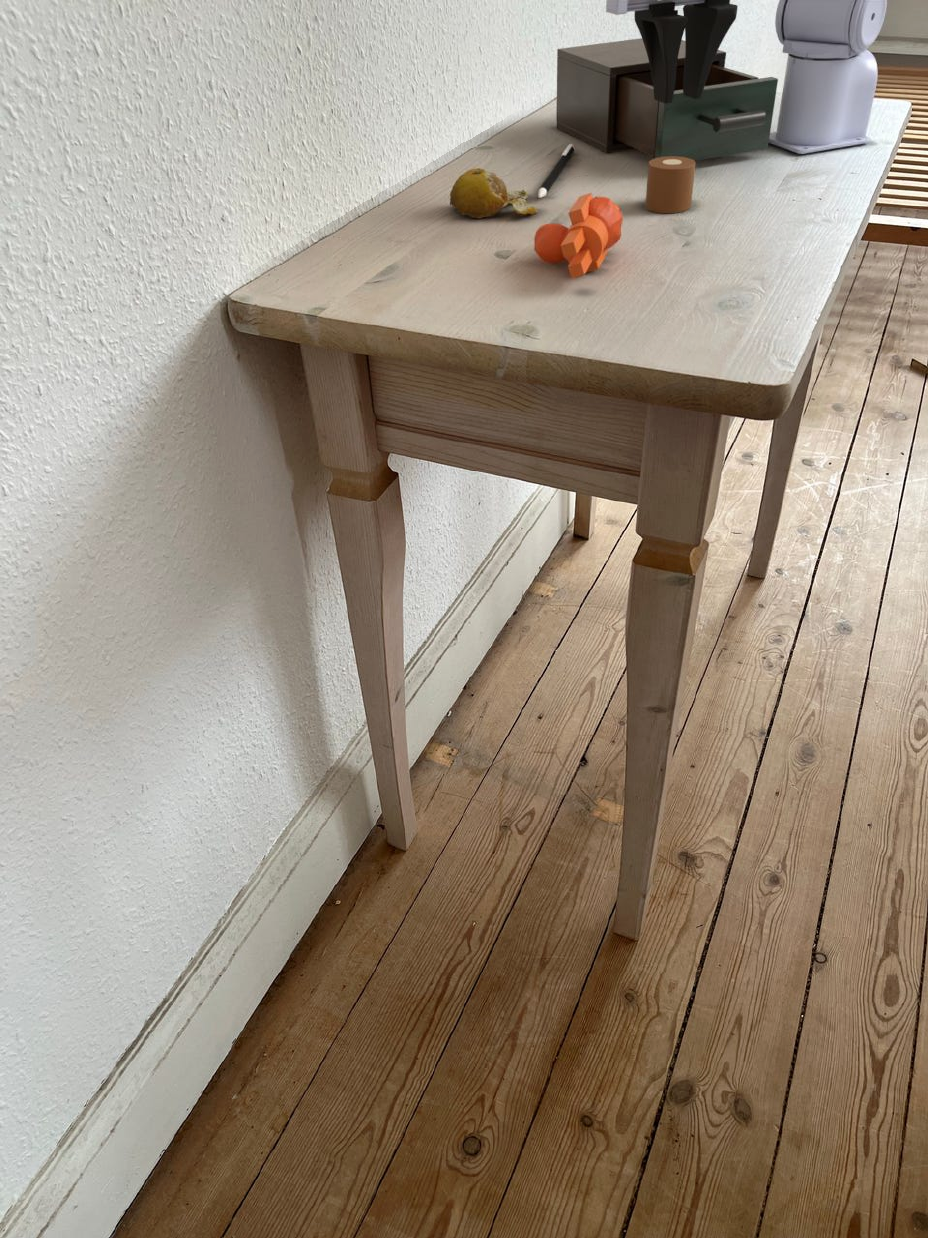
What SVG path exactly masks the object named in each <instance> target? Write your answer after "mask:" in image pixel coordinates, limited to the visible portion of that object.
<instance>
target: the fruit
mask: <svg viewBox="0 0 928 1238" xmlns="http://www.w3.org/2000/svg"><path fill="white" fill-rule="evenodd" d="M449 197H450V198H449V205H450V206H452V207H453V208H455V209H457V211H458V212H459V213H461V216H464V215H468V216H470V217H471V218H476V219H479V220H482V218H488V217H490V218H493V217H494V216H495V215H496V214H497V213H498V211H499V210H500V209H502V208H505V207H506V206H508V205H509V204H511V205H512V210H513V212H514V213H515V214H516V216H517V217H518V218H521V216H525V215H527V214H529V215H535V214H537V213H538V211H537V209H536V208H535V207H534V206H533V205H532V206H529V205H528V202H527V198H528V197H529V196H528V193H527V192H526V191H525V190H524V189H522V190H514V191H509V192H508V189H507V186H506V184H505V182H504V180H503V179H502V178H500V177H499V176H498V175H496V174H495V172H491V171H487V170H486V169H484V168H483V169H482V168H480V167H478V168H477V167H476V168H471V169H468V170H467V171H465V172H464V173H463V174H461V175H460V176H459V177H458V178H457V179H456V181H455V183H454V184H453V186H452V189H451V191H450V194H449Z"/></svg>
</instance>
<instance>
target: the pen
mask: <svg viewBox="0 0 928 1238" xmlns="http://www.w3.org/2000/svg"><path fill="white" fill-rule="evenodd" d="M574 153H575V145H574V144H572V143H569V144H567V146H566V148H565V149H564V151H563V152H562V153H561V157H560V158H559V159H558V161H557V163H556V164H555V165H554V167H553V168H552V170H551V171H550V173H549V174H548V176H547V177H546V178H545V180H544V181H543V182H542V184H541V186H540V187H539V189H538V191H537V193H538V194H537V196H538V198H539V199H541V198H543V197H546V195H547V194H548V193H549V191H550V190H551V188H552V187H553V185H554V184H555V182H556V181H557V179H558V178H559V176H560V174H561V173H562V172H563V170H564V169H565V167H566V165H567V164H568V162H569V161H570V159H571V158H572V156H573V155H574Z"/></svg>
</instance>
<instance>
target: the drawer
mask: <svg viewBox="0 0 928 1238" xmlns="http://www.w3.org/2000/svg"><path fill="white" fill-rule="evenodd" d="M683 75H684V66H679V67H677V68H676V79H675V90H674V95H673V100H672V103H662V102H660V101H657V100H655V99H654V89H653V82H652V75H651V70H650V71H642V72H635V73H628V74H620V75H616V91H615V111H614V131H613V138H614V139H616V140H618V141H620V142H622V143H624V144H627V145H629V146H631V147H633V148H635V150H637V151H640V152H642V153H644V154H646V155H648V156H650V157H652V158H654V159H655V158H659V157H667V156H678V157H686V158H690V159H692V160H694V161H695V162H696V161H703V160H710V159H715V158H721V157H729V156H734V155H739V154H740V155H741V154H745V153H752V152H756V151H757V152H758V151H763V150H764V151H765V150H768V149H769V144H770V143H769V137H770V133H771V130H772V123H773V116H774V109H775V103H776V95H777V89H778V82H779V78H777V77H774V76H767V77H760V78H759V77H757V76H754V75H751V74H748V73H746V72H745V73H744V72H741V71H738V70H735V69H731V68H728V67H721V66H718V65H714V64H712V66H711V68H710V71H709V74H708V77H707V80H706V83H705V86H704V89H703V93H702V96H701V98H699V99H693V98H690V97H688V96H685V95H683Z"/></svg>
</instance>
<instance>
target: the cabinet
mask: <svg viewBox="0 0 928 1238" xmlns="http://www.w3.org/2000/svg"><path fill="white" fill-rule="evenodd" d="M726 58H727V52H726V51H723V50H721V49H718V51H717V53H716V56H715V58H714V60H713V63H712V64H714V65H718V66H721V67H725V66H726V60H727V59H726ZM684 64H685V40H683V39H682V40H681V45H680V49H679V54H678V60H677V67H679V66H684ZM725 68H726V67H725ZM650 70H651V69H650V64H649V60H648V56H647V52H646V49H645V45H644V42H643V39H642V37H640V38H633V39H625V40H617V41H609V42H608V41H607V42H601V43H593V44H586V45H578V46H577V45H576V46H570V47H562V48H557V49H556V109H555V110H556V117H555V118H556V119H555V121H556V124H555V128H556V129H557V130H559V131H561V132H563V133H565V134H567V135H570V136H571V137H573V138H575V139H578V140H580V141H582V142H583V143H585V144H588V145H589V146H591V147H593V148H595V149H598V150H600V151H601V152H603V153H606V154H609V153H616V152H623V151H629V150H634V149H635V148H633V147H631V146H629V145H627V144H624V143H622V142H620V141H618V140H616V139H614V138H613V131H614V111H615V91H616V75H620V74H628V73H635V72H642V71H650ZM635 150H636V149H635Z"/></svg>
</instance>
